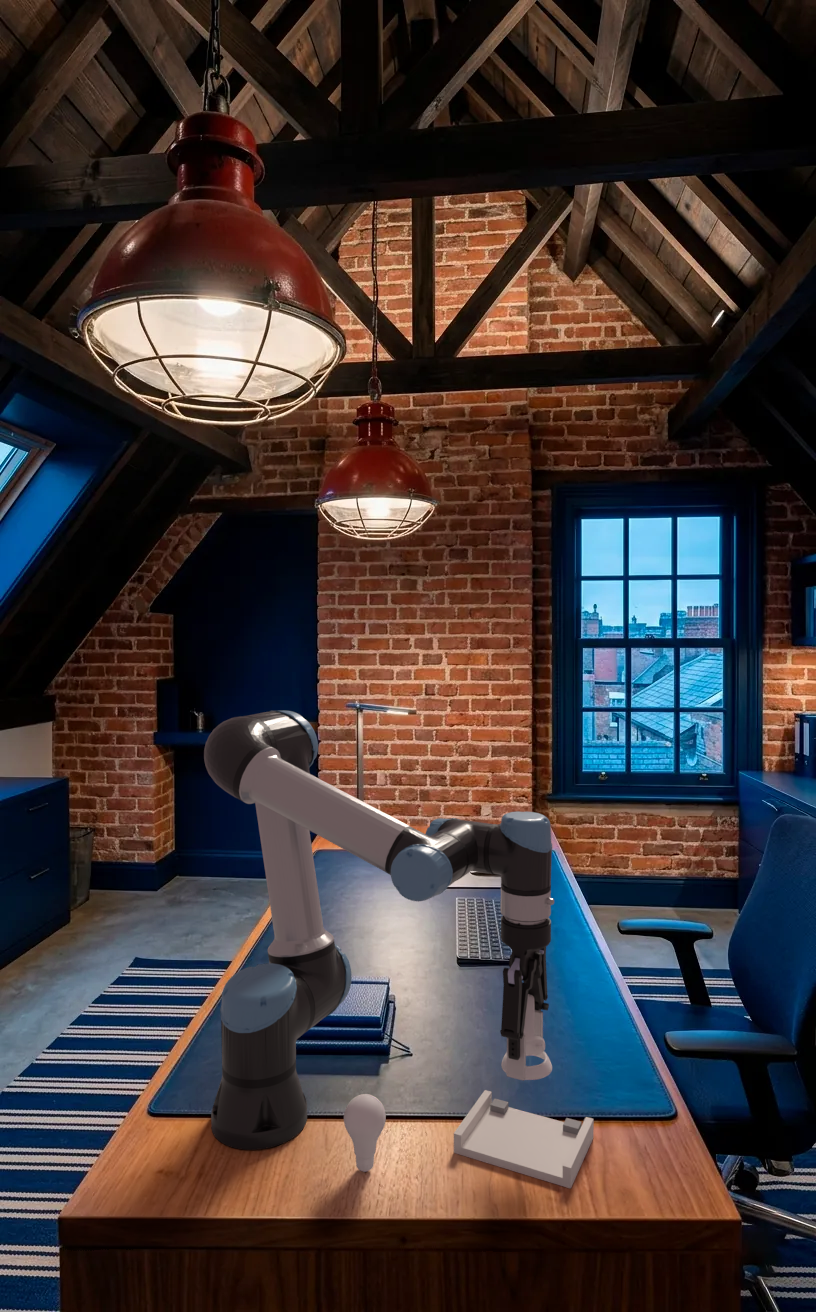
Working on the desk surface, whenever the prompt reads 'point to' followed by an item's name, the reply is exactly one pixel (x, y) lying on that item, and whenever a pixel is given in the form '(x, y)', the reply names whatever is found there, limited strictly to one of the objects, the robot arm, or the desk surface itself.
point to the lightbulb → (364, 1127)
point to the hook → (533, 1046)
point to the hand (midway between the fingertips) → (525, 1063)
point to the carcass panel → (524, 1141)
